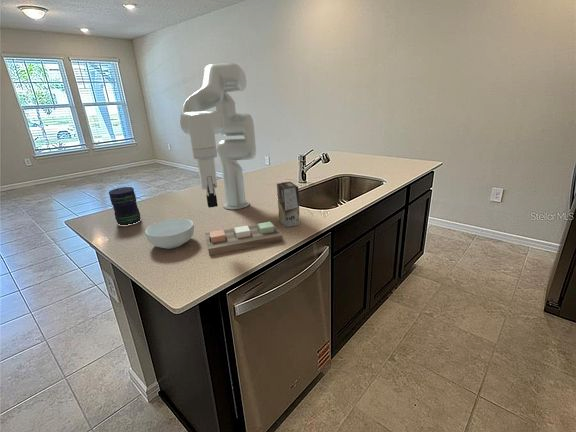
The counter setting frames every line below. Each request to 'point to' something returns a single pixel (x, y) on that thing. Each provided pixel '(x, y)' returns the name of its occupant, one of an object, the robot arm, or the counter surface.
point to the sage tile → (265, 227)
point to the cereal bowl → (170, 233)
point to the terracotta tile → (217, 236)
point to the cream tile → (242, 232)
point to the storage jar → (125, 205)
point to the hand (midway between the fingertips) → (212, 206)
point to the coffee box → (288, 204)
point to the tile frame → (242, 240)
